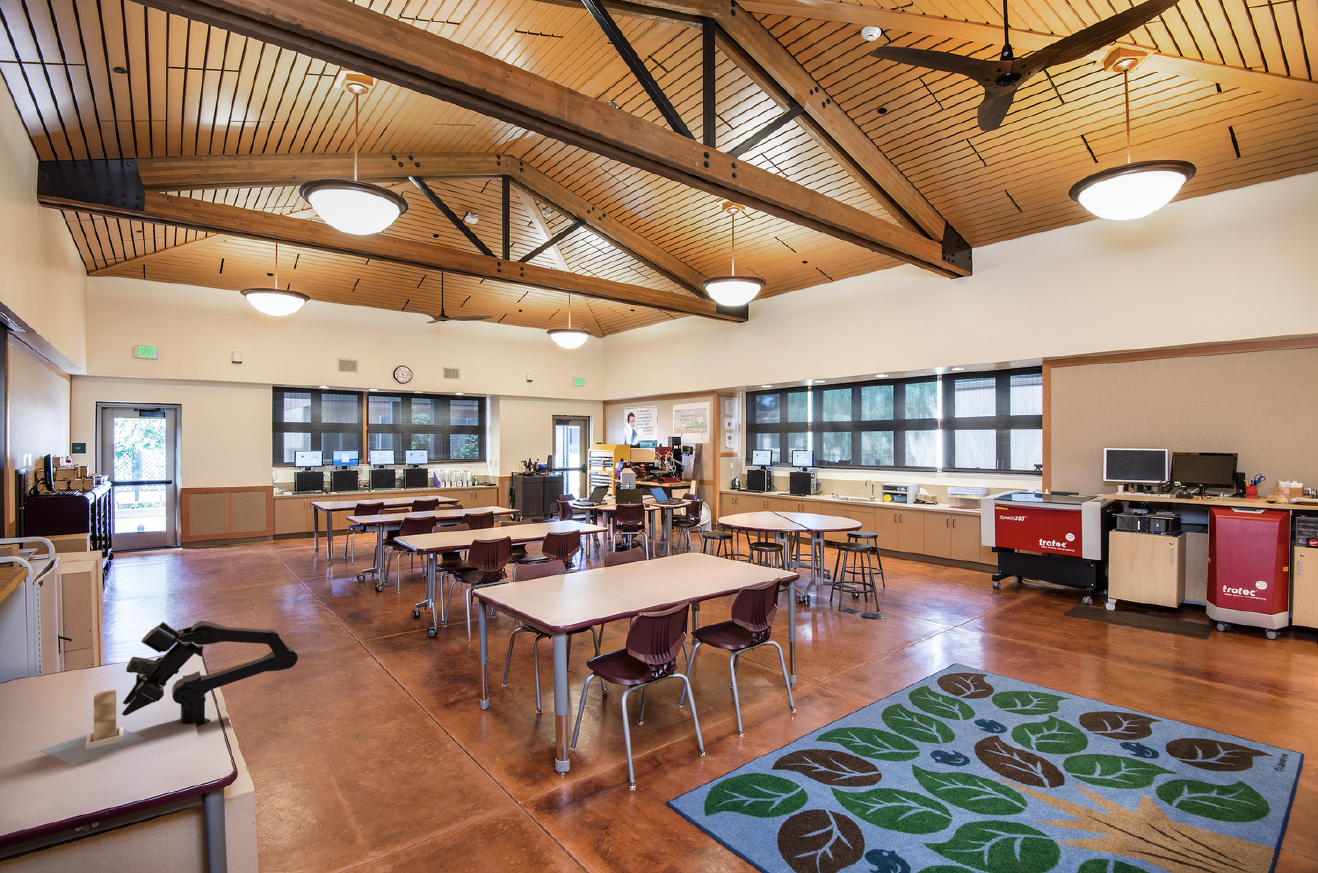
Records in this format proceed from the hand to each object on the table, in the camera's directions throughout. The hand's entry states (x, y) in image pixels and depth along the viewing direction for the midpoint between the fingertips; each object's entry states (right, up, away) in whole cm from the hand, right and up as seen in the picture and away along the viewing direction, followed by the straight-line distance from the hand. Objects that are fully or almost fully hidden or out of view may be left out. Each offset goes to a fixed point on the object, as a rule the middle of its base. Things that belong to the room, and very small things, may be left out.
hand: (123, 709), depth 174 cm
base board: (-4, -9, -5) cm, 11 cm away
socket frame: (-3, -7, -2) cm, 8 cm away
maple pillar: (-3, -7, -2) cm, 8 cm away
